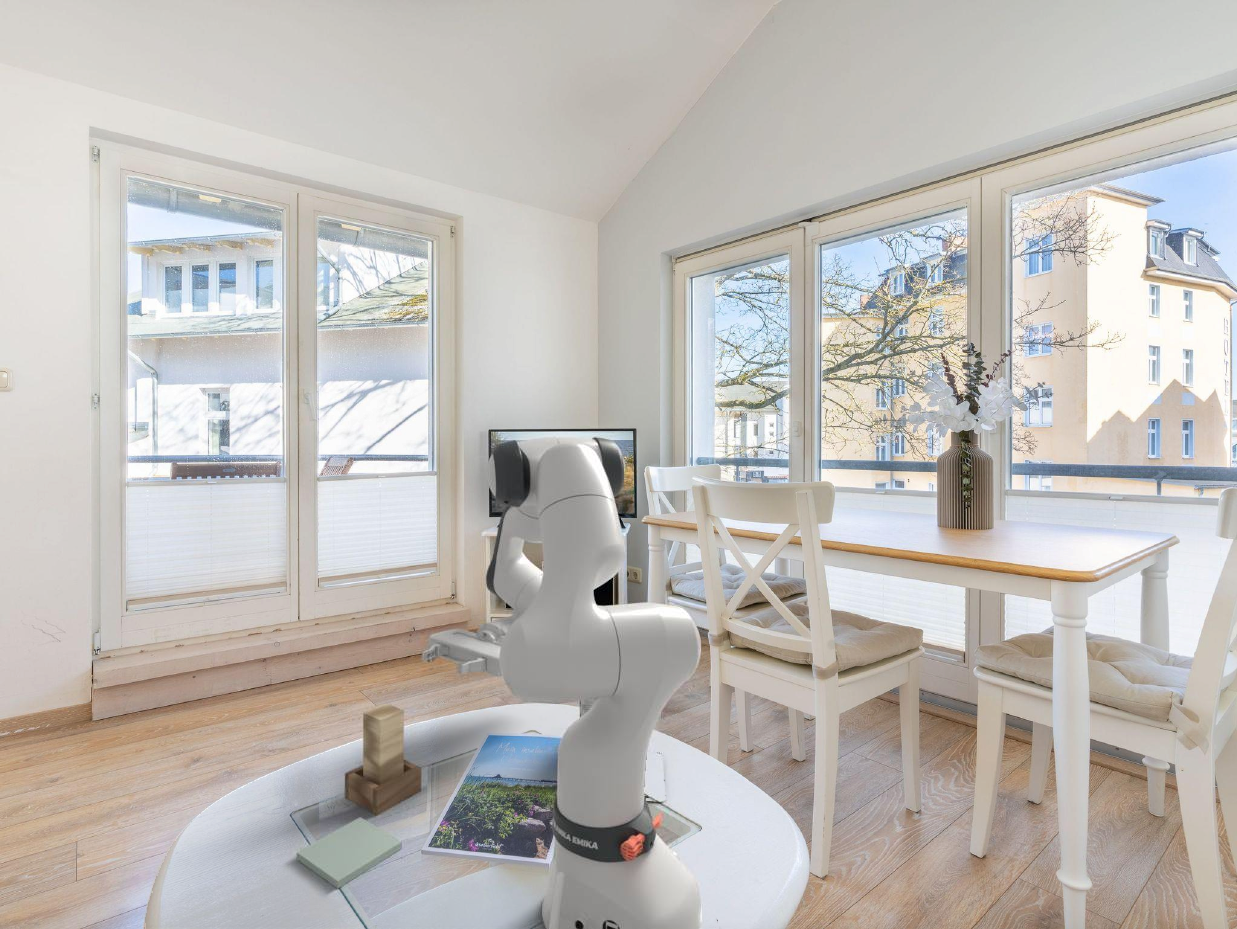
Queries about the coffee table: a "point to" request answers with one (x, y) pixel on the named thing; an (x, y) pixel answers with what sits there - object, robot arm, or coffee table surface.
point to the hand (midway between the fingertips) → (441, 663)
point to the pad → (348, 851)
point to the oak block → (383, 743)
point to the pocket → (382, 788)
